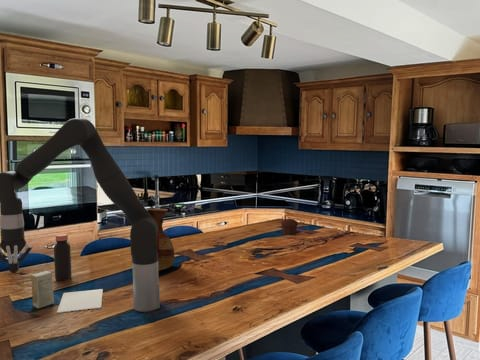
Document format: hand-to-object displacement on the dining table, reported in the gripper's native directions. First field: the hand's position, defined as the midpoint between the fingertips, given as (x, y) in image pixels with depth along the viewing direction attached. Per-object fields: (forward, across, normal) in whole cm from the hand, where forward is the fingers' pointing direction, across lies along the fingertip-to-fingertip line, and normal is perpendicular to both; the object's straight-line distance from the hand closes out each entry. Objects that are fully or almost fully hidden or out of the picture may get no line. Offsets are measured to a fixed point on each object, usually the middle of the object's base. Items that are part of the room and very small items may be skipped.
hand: (14, 272), depth 150 cm
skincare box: (+14, +9, 0) cm, 16 cm away
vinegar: (+13, +13, +30) cm, 36 cm away
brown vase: (+13, +53, +32) cm, 63 cm away
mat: (+13, +23, 0) cm, 26 cm away
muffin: (+12, +147, +84) cm, 170 cm away
